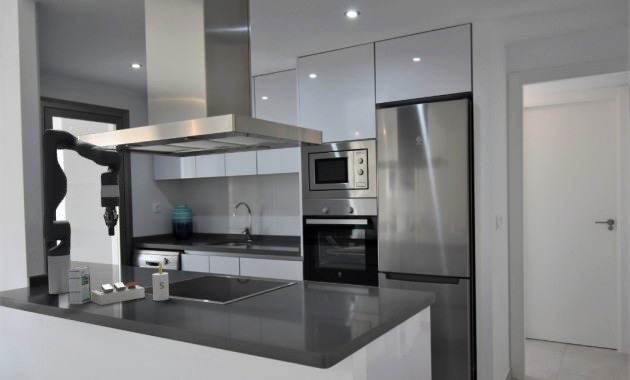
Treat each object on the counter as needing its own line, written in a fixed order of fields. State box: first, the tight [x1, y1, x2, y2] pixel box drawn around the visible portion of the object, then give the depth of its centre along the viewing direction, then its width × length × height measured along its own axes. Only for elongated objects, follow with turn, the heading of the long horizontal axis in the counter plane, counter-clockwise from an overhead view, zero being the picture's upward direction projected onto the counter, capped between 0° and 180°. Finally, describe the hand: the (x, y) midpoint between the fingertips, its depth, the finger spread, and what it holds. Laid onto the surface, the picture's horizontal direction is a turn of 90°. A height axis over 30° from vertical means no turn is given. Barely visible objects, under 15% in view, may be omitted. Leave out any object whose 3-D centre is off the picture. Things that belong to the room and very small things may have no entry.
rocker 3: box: [125, 281, 139, 288], centre depth 203 cm, size 5×3×2 cm, turn 42°
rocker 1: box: [101, 283, 114, 293], centre depth 196 cm, size 5×3×2 cm, turn 41°
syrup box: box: [69, 266, 92, 305], centre depth 197 cm, size 6×6×14 cm
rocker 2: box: [113, 281, 126, 291], centre depth 200 cm, size 5×3×2 cm, turn 41°
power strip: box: [90, 285, 153, 306], centre depth 203 cm, size 12×24×5 cm, turn 131°
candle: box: [151, 262, 170, 301], centre depth 199 cm, size 6×6×15 cm
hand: (111, 235), depth 207 cm, fingers closed
